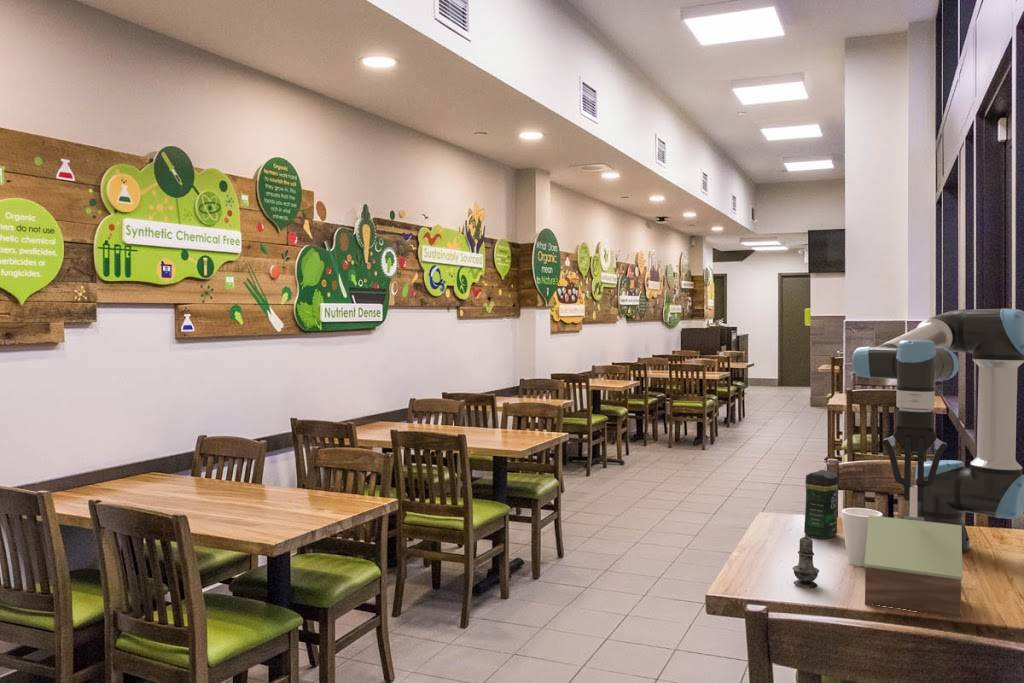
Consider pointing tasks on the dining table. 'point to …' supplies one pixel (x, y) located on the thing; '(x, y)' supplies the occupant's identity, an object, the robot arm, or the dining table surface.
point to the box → (913, 592)
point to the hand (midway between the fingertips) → (913, 515)
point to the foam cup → (856, 532)
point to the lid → (914, 546)
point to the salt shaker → (805, 565)
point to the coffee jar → (821, 504)
